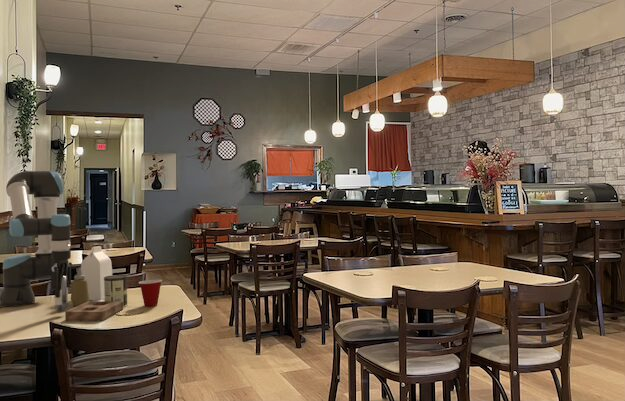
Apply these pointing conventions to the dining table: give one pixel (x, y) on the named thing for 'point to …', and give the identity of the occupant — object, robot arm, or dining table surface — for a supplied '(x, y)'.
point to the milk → (96, 272)
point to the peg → (63, 295)
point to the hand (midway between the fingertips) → (61, 303)
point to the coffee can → (116, 288)
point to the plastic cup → (150, 292)
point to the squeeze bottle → (79, 289)
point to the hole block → (94, 311)
